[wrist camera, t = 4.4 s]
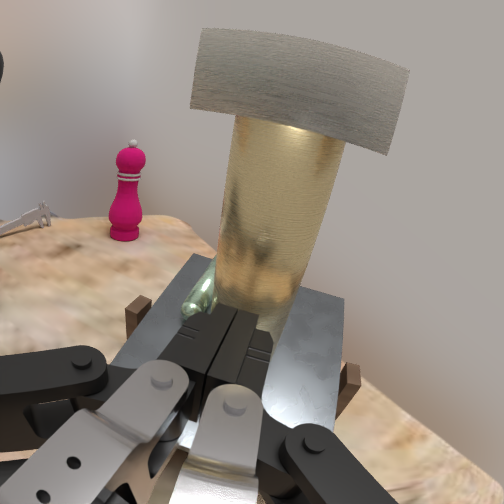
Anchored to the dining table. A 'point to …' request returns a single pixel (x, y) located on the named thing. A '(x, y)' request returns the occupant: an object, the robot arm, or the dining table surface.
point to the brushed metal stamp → (277, 205)
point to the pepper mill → (127, 194)
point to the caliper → (28, 218)
